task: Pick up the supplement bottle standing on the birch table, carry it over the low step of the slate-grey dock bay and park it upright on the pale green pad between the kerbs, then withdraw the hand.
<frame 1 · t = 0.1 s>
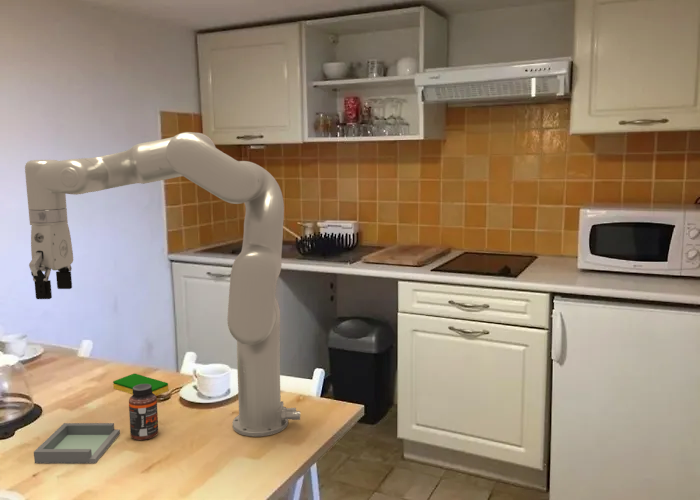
hand: (54, 293, 141), 31 cm above the table, tool pointing down, fingers open, 9 cm apart
dock bay: (79, 447, 135), on the table
supplement bottle: (144, 436, 141), on the table
dish sponge: (141, 391, 168), on the table
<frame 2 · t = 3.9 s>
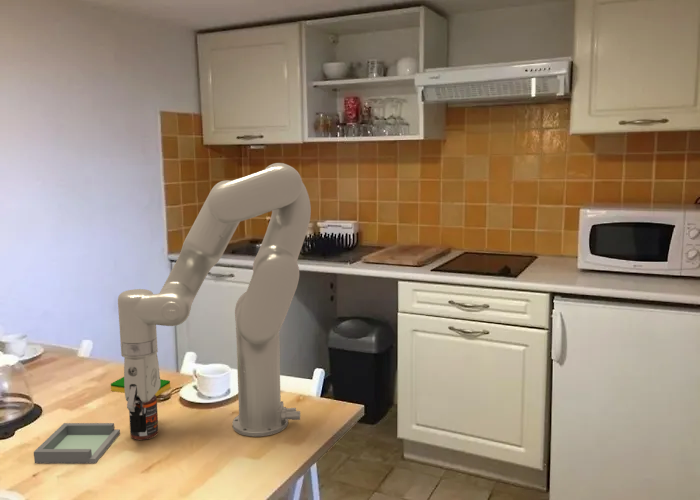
hand: (144, 424, 140), 3 cm above the table, tool pointing down, fingers closed on supplement bottle, 6 cm apart
supplement bottle: (144, 435, 141), on the table, touching gripper
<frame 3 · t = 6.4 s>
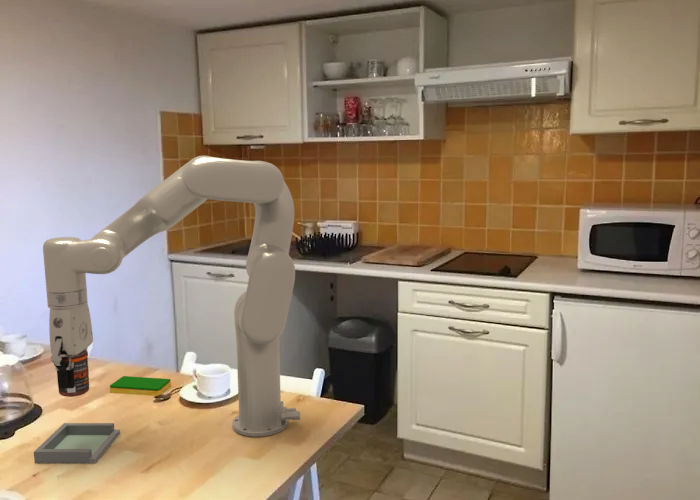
hand: (73, 380, 133), 15 cm above the table, tool pointing down, fingers closed on supplement bottle, 6 cm apart
supplement bottle: (74, 393, 133), point 12 cm above the table, touching gripper
when the fingers open (5 cm above the table, at t = 8.9 s): supplement bottle drops 2 cm, resting on dock bay.
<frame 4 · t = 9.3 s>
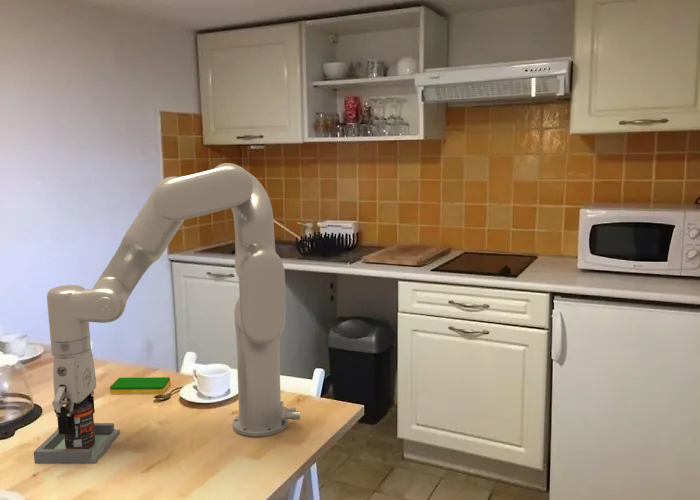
hand: (77, 423, 134), 6 cm above the table, tool pointing down, fingers open, 9 cm apart
supplement bottle: (80, 446, 135), resting on dock bay
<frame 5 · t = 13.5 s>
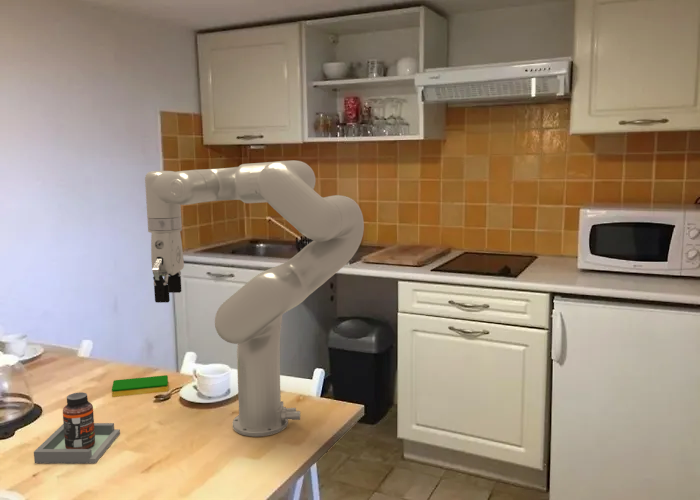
hand: (168, 297, 149), 28 cm above the table, tool pointing down, fingers open, 9 cm apart
at the end: supplement bottle inside the target area (0.5 cm from its centre), resting on dock bay; supplement bottle tilted 0°; the gripper is holding nothing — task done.
